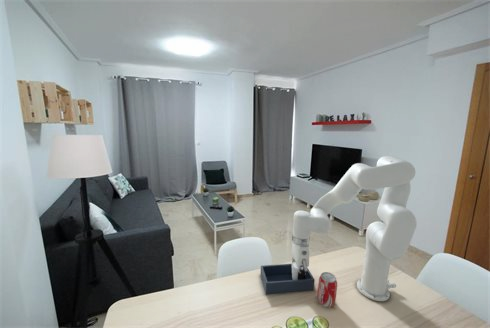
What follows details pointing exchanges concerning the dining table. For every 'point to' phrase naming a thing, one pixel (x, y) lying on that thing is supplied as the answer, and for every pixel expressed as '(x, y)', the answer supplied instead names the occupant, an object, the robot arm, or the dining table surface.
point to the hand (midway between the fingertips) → (298, 273)
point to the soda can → (327, 290)
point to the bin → (284, 280)
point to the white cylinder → (295, 271)
